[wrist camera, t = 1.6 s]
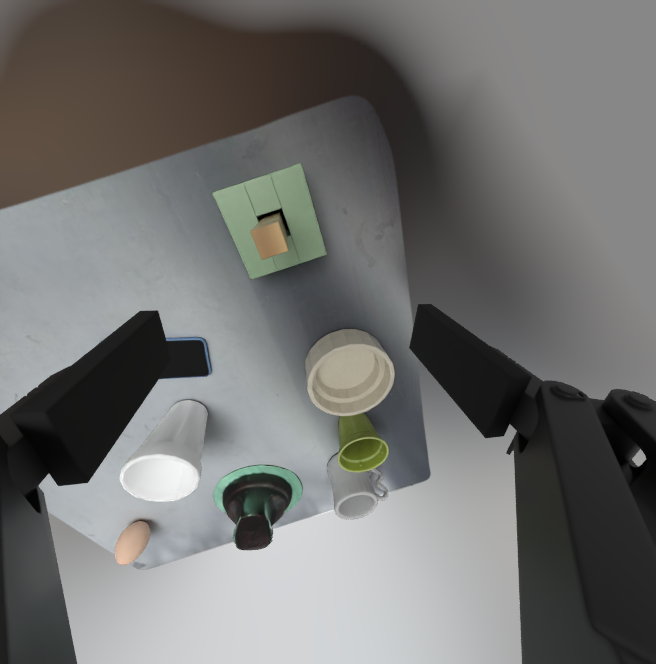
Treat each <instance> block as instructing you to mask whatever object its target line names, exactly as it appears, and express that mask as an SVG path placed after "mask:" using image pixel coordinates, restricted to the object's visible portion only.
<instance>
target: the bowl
mask: <svg viewBox="0 0 656 664" xmlns="http://www.w3.org/2000/svg"><path fill="white" fill-rule="evenodd" d="M305 375H306V383H307V390H308V393H309V396H310V398H311V401H312V402H313V403H314V404H315V405H316V406H317V407H318V408H319V409H320V410H322V411H324V412H326V413H328V414H332V415H338V416H351V415H356V414H360V413H363V412H366V411H368V410H370V409H371V408H373V407H375V406H377V405H378V404H379V403H380V402H381V401H382V400H383V399H384V398H385V397H386V396H387V394H388V393H389V391H390V389H391V387H392V386H393V381H394V376H395V373H394V367H393V363H392V362H391V360H390V359H389V357H388V356H387V354H386V353H385V351H384V350H383V348H382V347H381V345H380V344H379V342H378V341H377V339H376V338H374V337H373V336H371V335H370V334H369V333H367V332H364V331H360V330H357V329H342V330H338V331H335V332H332V333H329V334H327V335H326V336H324V337H323V338H321V339H320V340H318V341H317V342H316V344H315V345H314V346H313V347H312V348H311V349H310V351H309V353H308V356H307V358H306V361H305Z"/></svg>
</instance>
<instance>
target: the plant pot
mask: <svg viewBox="0 0 656 664" xmlns="http://www.w3.org/2000/svg"><path fill="white" fill-rule="evenodd" d="M339 439H340V449H339V454H338V463H339V465H340V466H341V467H342V468H343V469H344V470H346V471H349V472H357V473H358V472H365V471H369V470H371V469H374V468H376V467H378V466H379V465H380V464H382V463H383V462H384V461H385V459H386V458H387V456H388V453H389V448H388V446H387V444H386V442H385V441H384V440H382V439H381V438H380V436H378V434H377V433H376V431H375V429H374V428H373V426H372V424H371V422H370V421H369V419H368V417H367V415H366V414H365V413H364V412H363V413H360V414H356V415H351V416H341V417H340V418H339Z"/></svg>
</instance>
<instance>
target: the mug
mask: <svg viewBox="0 0 656 664" xmlns="http://www.w3.org/2000/svg"><path fill="white" fill-rule="evenodd" d="M338 454H339V453H338ZM338 454H336V455H335V456H333V457H332V458H331V460H330V461H329V463H328V466H327V471H328V474H329V478H330V481H331V485H332V490H333V495H334V510H335V513H336V514H337V516H339V517H340V518H343V519H358V518H361V517H364V516H366V515H368V514H370V513H371V512H372V511H373V510H374V509H375V508H376V506H377V504H378V500H379V501H384V500H386V499H387V497H388V490H387V489H386V487H385V486H383V485H382V484H381V483H380V482H381V481H382V479H383V475H382V473H381V472H380V471H379V470H377V469H375V468H374V469H371V470H369V471H365V472H358V473H357V472H349V471H346V470H344V469H343V468H342V467H341V466H340V465H339V463H338ZM371 472H374V473H376V474H377V475H378V476H379V477H378V478H377V479H376V485H377V487H379V488H380V489H381V490H383V492H384V495H383V496H379V495H378V494H376V493H375V491H374V489H373V487H372V484H371V481H370V478H369V476H370V473H371Z"/></svg>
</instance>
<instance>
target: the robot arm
mask: <svg viewBox="0 0 656 664" xmlns="http://www.w3.org/2000/svg"><path fill="white" fill-rule="evenodd" d="M409 348H410V349H411V350H412V352H413V353H414V354H415V355H416V356H417V358H418V359H419V360H420V361H421V362H422V363H423V365H424V366H425V367H426V368H427V369H428V371H429V372H430V373H431V374H432V375H433V376H434V378H435V379H436V380H437V381H438V382H439V384H440V385H441V386H442V387H443V388H444V390H446V392H447V393H448V394H449V395H450V397H451V398H452V399H453V400H454V401H455V403H456V404H457V405H458V406H459V407H460V408H461V410H462V411H463V412H464V413H465V414H466V416H467V417H468V418H469V419H470V420H471V422H472V423H473V424H474V425H475V426H476V427H477V429H478V430H479V431H480V432H481V433H482V435H483V436H484V437H485V438H491V437H500V436H504V434H505V432H506V430H507V428H508V426H509V424H511V425H512V426H513V427H514V428H515V429H516V430H517V432H516V435H515V436H514V439H513V440H512V442H511V444H510V446H509V448H508V450H507V454H509V455H510V453H511V452H512V451H513V450H514V463H515V487H516V488H515V489H516V515H517V541H518V568H519V593H520V619H521V646H522V664H656V401H653V400H652V399H649V398H648V397H647V396H645V395H642V394H639V393H637V392H631V391H627V390H621V389H614V390H611V391H610V393H609V394H608V396H607V397H606V399H605V400H598V399H591V398H588V396H587V395H586V394H584V393H583V392H582V391H580V390H578V389H576V388H574V387H572V386H570V385H567V384H564V383H562V382H557V381H544V382H543V381H542V380H540V379H539V378H537V377H536V376H535V375H533V374H532V373H530V372H529V371H528V370H526V369H525V368H523V367H522V366H521V365H519V364H517V363H516V362H515V361H513V360H512V359H511V358H508V356H506V355H505V354H504V353H502V352H501V351H499V350H498V349H495V348H493V347H491V346H488V345H487V344H486V343H485V342H483V341H482V340H480V339H479V338H478V337H476V336H475V335H474V334H472V333H471V332H469V331H468V330H467V329H465V328H464V327H462V326H461V325H460V324H458V323H457V322H455V321H454V320H453V319H451V318H450V317H448V316H447V315H446V314H444V313H443V312H441V311H440V310H439V309H437V308H436V307H434V306H433V305H431V304H419V305H418V308H417V313H416V318H415V323H414V328H413V332H412V337H411V342H410V347H409ZM171 360H172V359H171V356H170V352H169V348H168V345H167V341H166V338H165V334H164V331H163V327H162V323H161V320H160V316H159V313H158V311H139V312H138V313H137V314H136V315H134V316H133V317H132V318H131V319H129V320H128V321H127V322H126V323H124V324H123V325H122V326H121V327H119V328H118V329H117V330H116V331H114V332H113V333H112V334H111V335H109V336H108V337H107V338H106V339H104V340H103V341H102V342H101V343H99V344H98V345H97V346H96V347H94V348H93V349H92V350H91V351H89V352H88V353H87V354H85V355H84V356H83V357H82V358H80V359H79V360H78V361H77V362H75V363H74V364H73V365H72V366H69V367H67V368H65V369H63V370H61V371H59V372H57V373H55V374H53V375H51V376H50V377H49V378H47V379H46V380H45V381H44V382H42V383H41V384H40V385H38V387H37V388H34V389H33V390H32V391H31V392H29V393H28V394H27V396H24V397H23V398H21V399H20V400H19V401H18V402H16V403H15V404H14V405H12V406H11V407H10V408H8V409H7V410H6V411H5V412H3V413H2V414H1V415H0V664H77V661H76V656H75V650H74V645H73V641H72V635H71V630H70V625H69V620H68V615H67V609H66V605H65V599H64V594H63V589H62V584H61V579H60V574H59V569H58V563H57V558H56V553H55V548H54V543H53V538H52V533H51V528H50V523H49V518H48V512H47V507H46V502H45V497H44V493H43V492H42V490H41V489H40V488H39V486H38V485H39V484H40V483H41V482H42V480H43V479H44V478H45V477H46V476H47V475H48V473H49V474H50V475H51V476H52V478H53V479H54V481H55V482H56V484H57V485H58V486H63V485H72V484H81V483H88V482H89V480H90V479H91V477H92V476H93V474H94V473H95V472H96V470H97V469H98V467H99V466H100V464H101V463H102V461H103V460H104V458H105V457H106V455H107V454H108V452H109V451H110V450H111V448H112V447H113V445H114V444H115V442H116V441H117V439H118V438H119V436H120V435H121V433H122V432H123V431H124V429H125V428H126V426H127V425H128V423H129V422H130V420H131V419H132V417H133V416H134V414H135V413H136V411H137V410H138V409H139V407H140V406H141V404H142V403H143V401H144V400H145V398H146V397H147V395H148V394H149V392H150V391H151V390H152V388H153V387H154V385H155V384H156V382H157V381H158V379H159V378H160V376H161V375H162V373H163V372H164V370H165V369H166V368H167V366H168V365H169V363H170V362H171ZM640 449H641V450H642V451H643V452H644V454H645V456H646V460H645V461H644V463H643V464H642V465H641V466H639V467H638V466H637V465H635V463H634V462H633V461H632V458H633V457H634V456H635V454H636V453H637V452H638V451H639V450H640Z"/></svg>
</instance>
